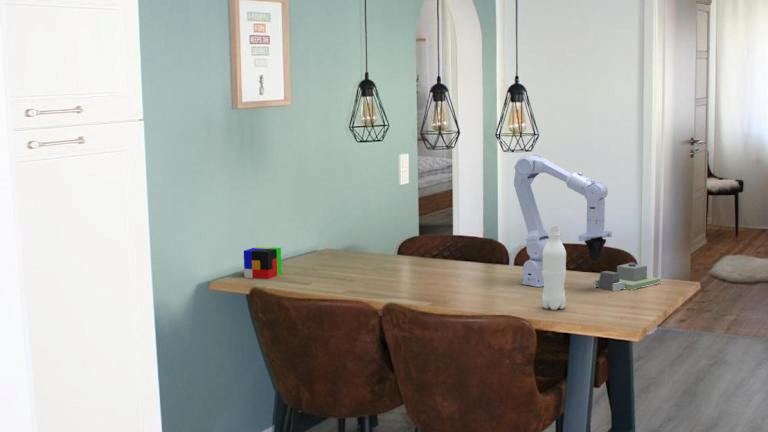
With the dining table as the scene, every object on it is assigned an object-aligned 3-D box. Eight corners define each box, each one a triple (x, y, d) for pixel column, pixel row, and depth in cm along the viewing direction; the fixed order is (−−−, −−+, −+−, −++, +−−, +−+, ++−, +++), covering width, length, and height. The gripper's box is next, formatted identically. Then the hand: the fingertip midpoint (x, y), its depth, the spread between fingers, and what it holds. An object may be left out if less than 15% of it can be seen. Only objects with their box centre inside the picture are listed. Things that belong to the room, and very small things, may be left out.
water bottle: (551, 311, 287) (552, 229, 283) (537, 307, 293) (537, 226, 290) (570, 308, 290) (571, 227, 287) (556, 304, 296) (556, 224, 293)
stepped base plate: (621, 292, 312) (621, 271, 311) (589, 286, 322) (589, 265, 321) (660, 283, 325) (660, 262, 324) (628, 278, 335) (629, 258, 334)
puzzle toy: (244, 277, 349) (243, 250, 348) (258, 272, 359) (257, 246, 357) (268, 279, 346) (267, 251, 344) (281, 274, 355) (280, 247, 354)
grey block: (611, 290, 316) (611, 274, 315) (599, 288, 319) (599, 272, 319) (619, 288, 318) (619, 272, 317) (606, 286, 322) (607, 270, 321)
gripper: (590, 223, 306) (590, 264, 308) (619, 218, 315) (618, 259, 317) (573, 221, 312) (573, 261, 314) (602, 216, 321) (601, 256, 323)
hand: (594, 260), depth 316 cm, fingers closed
